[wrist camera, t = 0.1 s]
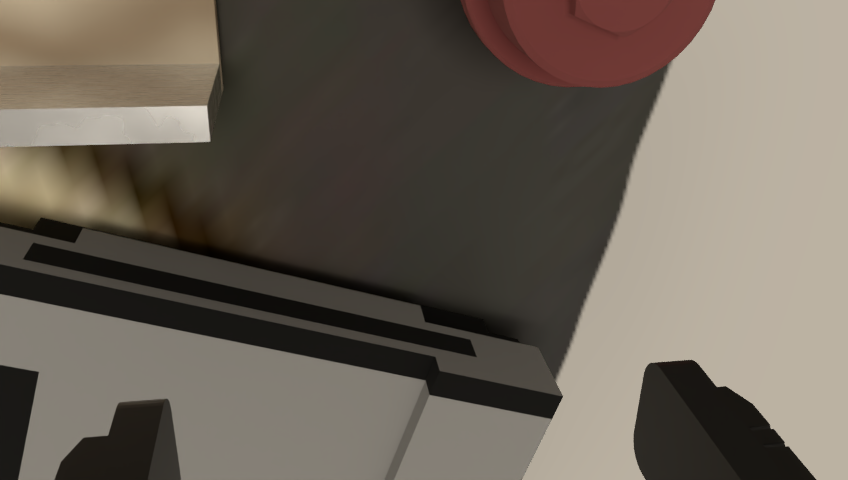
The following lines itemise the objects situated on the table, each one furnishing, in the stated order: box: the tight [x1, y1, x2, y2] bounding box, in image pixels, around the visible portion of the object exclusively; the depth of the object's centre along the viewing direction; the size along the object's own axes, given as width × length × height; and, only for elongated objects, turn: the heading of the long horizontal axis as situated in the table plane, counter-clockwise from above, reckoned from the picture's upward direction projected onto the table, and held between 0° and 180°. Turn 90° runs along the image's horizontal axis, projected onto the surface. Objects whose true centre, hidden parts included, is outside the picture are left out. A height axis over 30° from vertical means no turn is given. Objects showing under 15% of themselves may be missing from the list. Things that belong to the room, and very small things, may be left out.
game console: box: [0, 218, 563, 480], centre depth 44 cm, size 21×32×8 cm, turn 70°
